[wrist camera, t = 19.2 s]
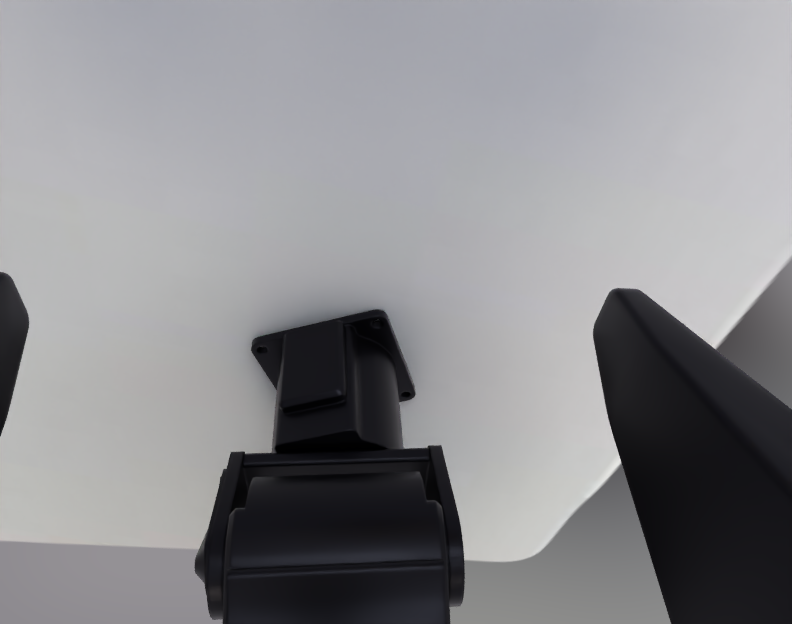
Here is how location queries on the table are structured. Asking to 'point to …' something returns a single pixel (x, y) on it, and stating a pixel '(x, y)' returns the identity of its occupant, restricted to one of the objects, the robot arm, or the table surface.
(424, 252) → the table surface
